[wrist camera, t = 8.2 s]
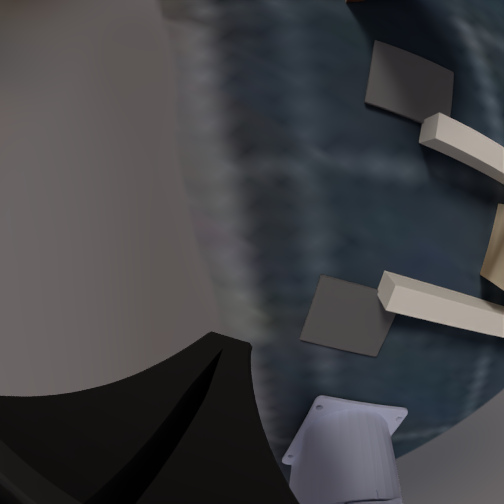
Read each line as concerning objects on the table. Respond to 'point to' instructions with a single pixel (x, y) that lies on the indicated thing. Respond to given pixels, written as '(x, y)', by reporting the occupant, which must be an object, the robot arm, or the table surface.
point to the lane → (431, 296)
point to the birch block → (495, 252)
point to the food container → (353, 1)
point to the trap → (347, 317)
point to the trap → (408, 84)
